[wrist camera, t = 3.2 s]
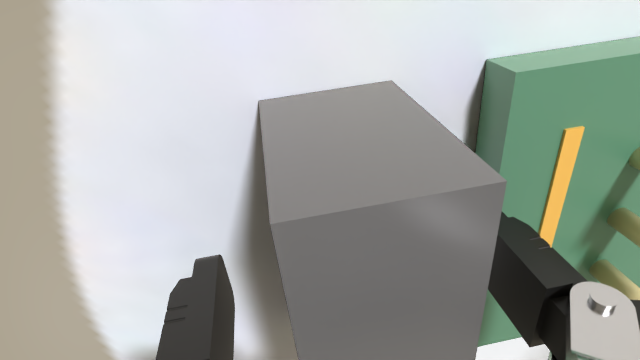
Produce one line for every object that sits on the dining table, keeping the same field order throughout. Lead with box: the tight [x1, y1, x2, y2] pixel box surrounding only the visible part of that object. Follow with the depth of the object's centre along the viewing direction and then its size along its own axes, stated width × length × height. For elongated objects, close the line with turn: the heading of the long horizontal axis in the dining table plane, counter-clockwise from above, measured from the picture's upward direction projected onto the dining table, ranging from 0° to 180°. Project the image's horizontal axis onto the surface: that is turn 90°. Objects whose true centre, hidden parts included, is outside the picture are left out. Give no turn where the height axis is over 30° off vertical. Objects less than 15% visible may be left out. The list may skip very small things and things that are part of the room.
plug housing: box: [259, 81, 507, 360], centre depth 11 cm, size 10×4×6 cm, turn 6°
